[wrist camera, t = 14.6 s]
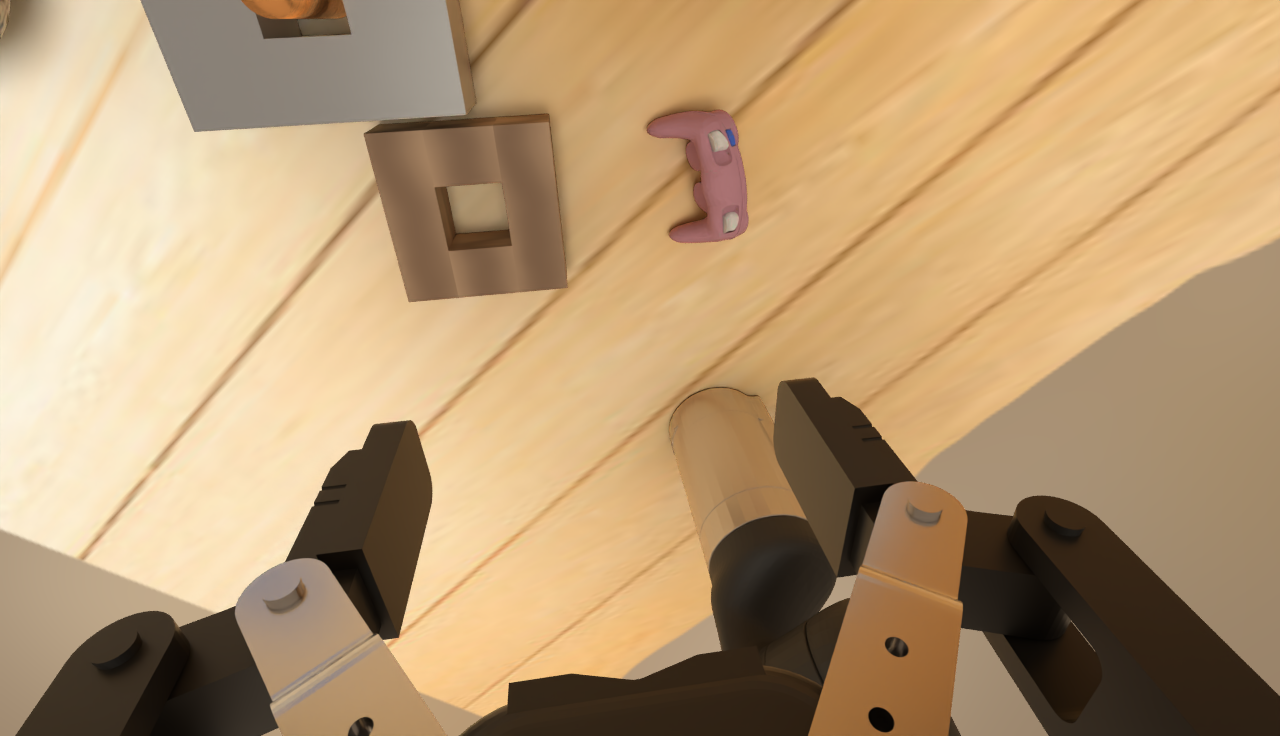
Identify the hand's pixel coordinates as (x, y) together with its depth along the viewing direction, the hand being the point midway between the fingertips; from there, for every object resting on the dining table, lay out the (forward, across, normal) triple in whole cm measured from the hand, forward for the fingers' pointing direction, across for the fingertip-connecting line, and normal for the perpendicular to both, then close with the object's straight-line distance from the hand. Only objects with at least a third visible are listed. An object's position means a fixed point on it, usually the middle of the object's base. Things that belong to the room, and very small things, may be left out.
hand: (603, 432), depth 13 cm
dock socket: (+36, +14, -10) cm, 40 cm away
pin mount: (+36, +7, +4) cm, 37 cm away
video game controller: (+36, -10, +3) cm, 38 cm away
